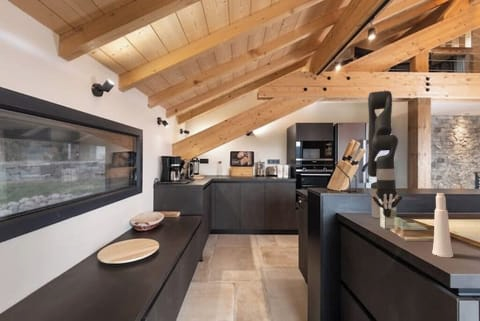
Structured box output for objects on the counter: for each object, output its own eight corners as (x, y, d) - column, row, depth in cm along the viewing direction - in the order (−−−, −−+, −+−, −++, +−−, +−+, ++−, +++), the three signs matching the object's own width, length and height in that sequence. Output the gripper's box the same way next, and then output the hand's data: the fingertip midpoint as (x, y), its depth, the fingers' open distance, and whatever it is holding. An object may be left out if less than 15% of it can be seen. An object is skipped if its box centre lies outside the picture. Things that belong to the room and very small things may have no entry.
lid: (394, 224, 123) (393, 216, 123) (416, 224, 121) (415, 216, 121) (403, 229, 114) (403, 221, 114) (427, 230, 112) (427, 221, 112)
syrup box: (391, 226, 135) (390, 198, 135) (397, 229, 129) (396, 199, 129) (379, 226, 135) (378, 198, 135) (385, 229, 129) (384, 199, 129)
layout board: (390, 230, 127) (389, 223, 127) (428, 230, 124) (428, 223, 124) (406, 240, 110) (406, 232, 110) (451, 241, 108) (451, 233, 108)
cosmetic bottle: (442, 251, 97) (439, 192, 97) (458, 256, 91) (455, 194, 91) (427, 252, 96) (425, 192, 96) (443, 258, 90) (440, 194, 90)
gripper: (397, 178, 122) (399, 215, 122) (367, 178, 124) (369, 215, 124) (405, 179, 114) (406, 218, 114) (373, 179, 116) (374, 218, 116)
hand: (387, 216), depth 119 cm, fingers closed
